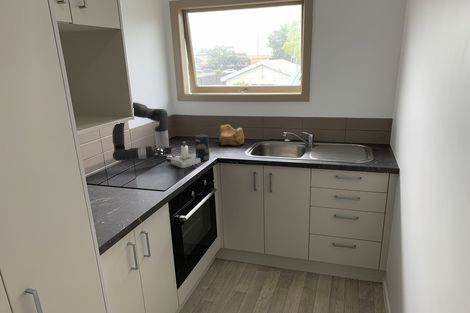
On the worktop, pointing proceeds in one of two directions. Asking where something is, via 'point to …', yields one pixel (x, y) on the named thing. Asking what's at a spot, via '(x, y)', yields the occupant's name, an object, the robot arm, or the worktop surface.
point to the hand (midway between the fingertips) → (171, 150)
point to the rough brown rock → (231, 135)
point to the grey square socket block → (185, 161)
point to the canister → (202, 146)
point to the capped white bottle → (184, 151)
